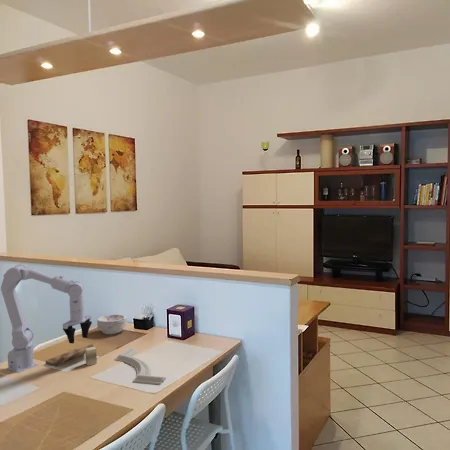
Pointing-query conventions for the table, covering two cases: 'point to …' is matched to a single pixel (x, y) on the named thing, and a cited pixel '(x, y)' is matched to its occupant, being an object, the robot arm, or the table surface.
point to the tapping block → (91, 356)
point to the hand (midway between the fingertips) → (78, 340)
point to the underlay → (70, 364)
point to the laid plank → (56, 358)
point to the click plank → (72, 355)
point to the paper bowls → (111, 323)
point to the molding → (139, 368)
